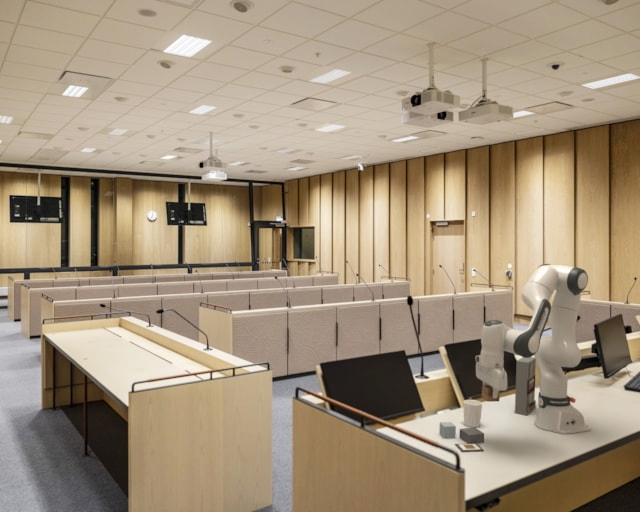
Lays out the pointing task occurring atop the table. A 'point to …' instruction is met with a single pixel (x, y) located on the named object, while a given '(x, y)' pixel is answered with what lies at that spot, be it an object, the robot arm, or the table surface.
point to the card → (469, 447)
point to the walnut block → (489, 393)
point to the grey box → (525, 385)
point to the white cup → (472, 412)
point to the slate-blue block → (447, 430)
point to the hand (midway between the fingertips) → (490, 395)
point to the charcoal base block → (471, 435)
